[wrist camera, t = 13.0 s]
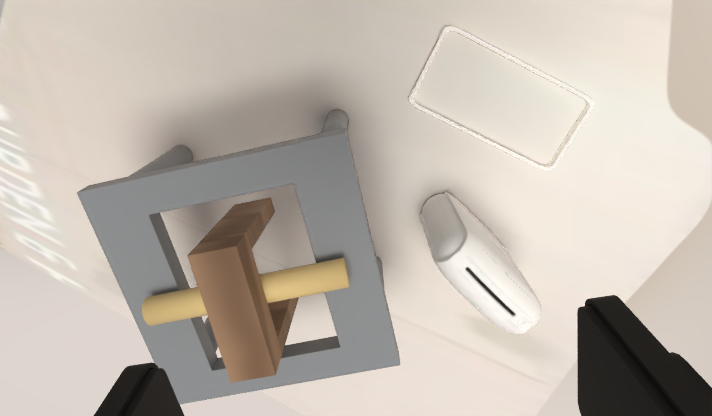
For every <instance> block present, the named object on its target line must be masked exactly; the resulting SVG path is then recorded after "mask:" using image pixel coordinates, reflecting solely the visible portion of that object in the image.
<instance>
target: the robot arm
mask: <svg viewBox="0 0 712 416" xmlns="http://www.w3.org/2000/svg"><path fill="white" fill-rule="evenodd" d="M578 405H579V410H580V413H581V416H712V388H711V387H710V386H709V385H708V383H707V382H706V381H705V380H704V379H703V378H702V377H701V376H700V375H699V374H698V373H697V372H696V371H695V370H694V369H693V368H692V366H691V365H690V364H689V363H688V362H687V361H686V360H685V359H684V358H682V357H681V356H680V355H679V354H676V353H673V352H672V353H669V352H668V351H667V350H666V349H665V348H664V347H663V345H662V344H661V343H660V342H659V341H658V340H657V339H656V338H655V337H654V336H653V335H652V333H651V332H650V331H649V330H648V329H647V328H646V327H645V326H644V325H643V324H642V323H641V321H640V320H639V319H638V318H637V317H636V316H635V315H634V314H633V313H632V311H631V310H630V309H629V308H628V307H627V306H626V305H625V304H624V303H623V302H622V301H621V299H620V298H618V297H617V296H615V295H612V296H605V297H598V298H591V299H587V300H586V302H585V306H584V307H579V308H578ZM94 416H184V414H183V412H182V409H181V407H180V405H179V402H178V400H177V397H176V395H175V393H174V390H173V388H172V386H171V383H170V381H169V378H168V376H167V374H166V372H165V370H164V369H163V368H158V366H157V365H156V364H155V363H146V364H139V365H133V366H128V367H126V368H125V369H124V370H123V372H122V373H121V375H120V377H119V378H118V380H117V381H116V382H115V384H114V386H113V387H112V389H111V390H110V392H109V393H108V395H107V396H106V398H105V399H104V401H103V402H102V404H101V406H100V407H99V408H98V410H97V412H96V413H95V415H94Z"/></svg>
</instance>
